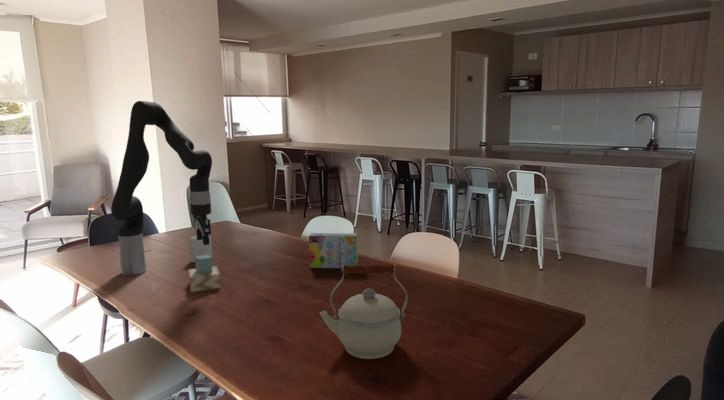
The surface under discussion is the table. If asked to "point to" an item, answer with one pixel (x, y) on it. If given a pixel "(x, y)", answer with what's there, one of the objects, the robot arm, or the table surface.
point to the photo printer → (199, 248)
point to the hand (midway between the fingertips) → (203, 242)
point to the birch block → (204, 280)
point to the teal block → (203, 264)
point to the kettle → (367, 318)
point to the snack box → (333, 250)
